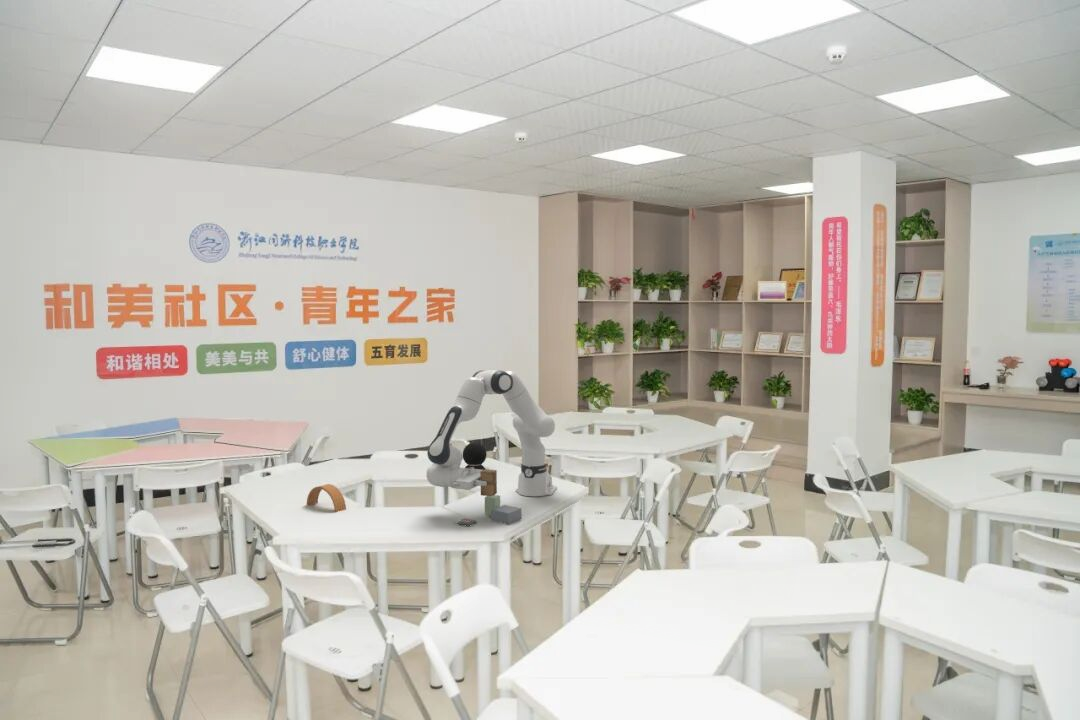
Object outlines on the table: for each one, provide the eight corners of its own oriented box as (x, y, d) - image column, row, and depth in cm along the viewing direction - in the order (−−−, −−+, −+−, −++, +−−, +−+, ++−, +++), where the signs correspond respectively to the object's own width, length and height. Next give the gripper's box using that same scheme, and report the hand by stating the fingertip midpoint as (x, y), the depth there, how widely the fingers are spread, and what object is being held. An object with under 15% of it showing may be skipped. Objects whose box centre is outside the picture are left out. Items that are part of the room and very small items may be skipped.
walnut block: (486, 492, 311) (486, 469, 310) (496, 493, 309) (496, 470, 308) (480, 495, 306) (480, 471, 305) (491, 496, 304) (491, 472, 304)
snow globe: (481, 473, 395) (481, 445, 394) (458, 471, 399) (458, 444, 398) (490, 467, 408) (489, 441, 407) (467, 466, 411) (467, 439, 410)
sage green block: (490, 512, 320) (489, 494, 319) (500, 513, 318) (500, 495, 317) (484, 515, 315) (484, 497, 315) (495, 516, 313) (495, 498, 313)
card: (463, 520, 307) (463, 518, 307) (476, 522, 305) (476, 520, 305) (456, 524, 302) (456, 522, 302) (469, 526, 300) (469, 524, 300)
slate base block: (504, 516, 315) (504, 504, 314) (521, 519, 310) (521, 508, 309) (491, 521, 307) (491, 509, 307) (508, 525, 302) (508, 513, 302)
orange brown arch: (335, 512, 320) (335, 490, 319) (306, 505, 331) (306, 483, 331) (346, 509, 325) (345, 487, 324) (317, 502, 336) (316, 481, 335)
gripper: (449, 476, 302) (478, 479, 297) (472, 466, 321) (501, 469, 316) (449, 491, 303) (479, 495, 298) (472, 480, 322) (501, 483, 316)
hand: (490, 481), depth 307 cm, fingers closed on walnut block, 5 cm apart
